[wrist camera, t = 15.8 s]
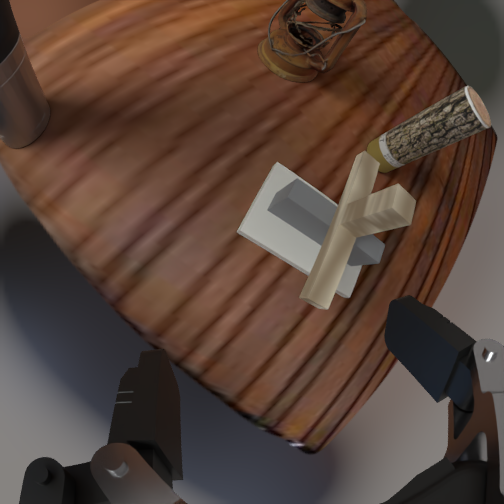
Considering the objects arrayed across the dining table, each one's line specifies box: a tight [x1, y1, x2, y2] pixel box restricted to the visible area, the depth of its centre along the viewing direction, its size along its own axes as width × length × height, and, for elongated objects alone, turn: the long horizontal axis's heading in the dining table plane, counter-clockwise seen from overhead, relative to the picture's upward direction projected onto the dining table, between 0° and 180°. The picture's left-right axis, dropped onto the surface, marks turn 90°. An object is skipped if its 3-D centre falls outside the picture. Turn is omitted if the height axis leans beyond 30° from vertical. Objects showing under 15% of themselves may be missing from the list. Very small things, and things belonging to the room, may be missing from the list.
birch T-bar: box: [299, 151, 416, 310], centre depth 30 cm, size 3×22×11 cm, turn 152°
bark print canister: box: [367, 86, 491, 173], centre depth 38 cm, size 7×7×25 cm
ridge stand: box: [237, 162, 385, 298], centre depth 39 cm, size 20×12×8 cm, turn 61°
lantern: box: [257, 0, 367, 82], centre depth 32 cm, size 17×13×30 cm
